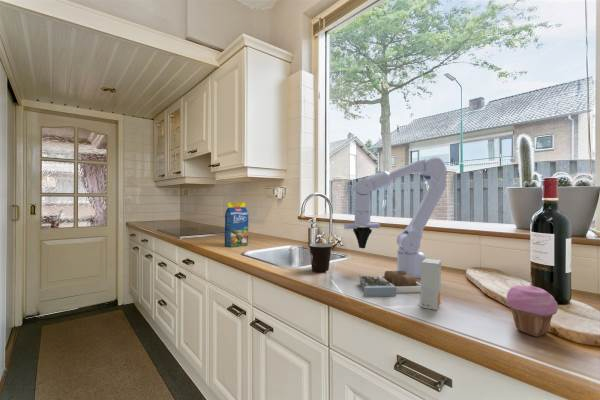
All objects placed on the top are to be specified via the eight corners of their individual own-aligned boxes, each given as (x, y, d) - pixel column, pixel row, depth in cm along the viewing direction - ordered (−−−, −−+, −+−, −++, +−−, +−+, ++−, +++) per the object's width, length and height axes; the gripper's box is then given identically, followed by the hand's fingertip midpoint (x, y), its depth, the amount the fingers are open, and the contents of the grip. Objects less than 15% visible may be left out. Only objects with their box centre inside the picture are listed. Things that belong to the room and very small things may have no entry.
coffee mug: (330, 274, 112) (330, 247, 112) (307, 272, 114) (307, 246, 113) (333, 267, 123) (333, 242, 123) (312, 266, 125) (312, 242, 125)
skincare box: (437, 310, 77) (438, 263, 77) (419, 307, 79) (420, 261, 79) (440, 303, 82) (441, 259, 82) (424, 300, 84) (424, 258, 84)
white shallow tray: (404, 281, 103) (404, 275, 103) (425, 293, 90) (425, 286, 90) (377, 282, 102) (377, 275, 102) (394, 294, 89) (394, 287, 89)
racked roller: (400, 276, 102) (403, 268, 100) (405, 285, 99) (408, 276, 97) (383, 277, 102) (386, 268, 100) (387, 286, 98) (390, 277, 96)
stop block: (393, 295, 88) (393, 285, 88) (396, 297, 86) (396, 287, 86) (363, 296, 87) (364, 286, 87) (365, 298, 85) (365, 287, 85)
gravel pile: (391, 296, 88) (391, 282, 88) (365, 296, 88) (365, 282, 88) (380, 285, 99) (380, 273, 99) (357, 285, 99) (358, 273, 99)
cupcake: (542, 345, 59) (542, 294, 59) (497, 327, 67) (497, 282, 67) (565, 336, 63) (566, 289, 63) (520, 321, 71) (521, 278, 71)
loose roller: (395, 291, 92) (398, 280, 91) (390, 282, 96) (393, 272, 95) (414, 290, 93) (417, 280, 92) (408, 282, 97) (411, 272, 95)
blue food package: (224, 246, 172) (224, 202, 172) (241, 244, 181) (242, 202, 181) (230, 247, 168) (231, 202, 168) (248, 245, 177) (248, 202, 176)
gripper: (351, 212, 105) (351, 250, 106) (385, 211, 111) (384, 248, 111) (341, 211, 112) (340, 247, 112) (373, 211, 118) (373, 245, 118)
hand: (362, 248), depth 112 cm, fingers closed
